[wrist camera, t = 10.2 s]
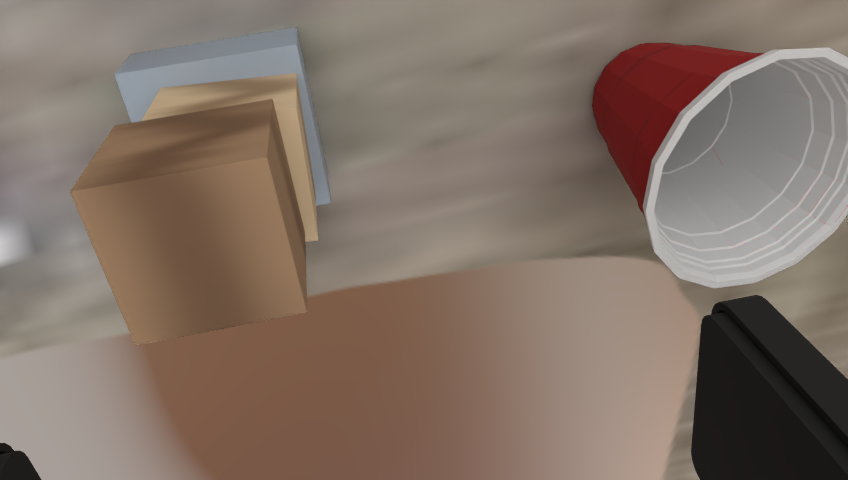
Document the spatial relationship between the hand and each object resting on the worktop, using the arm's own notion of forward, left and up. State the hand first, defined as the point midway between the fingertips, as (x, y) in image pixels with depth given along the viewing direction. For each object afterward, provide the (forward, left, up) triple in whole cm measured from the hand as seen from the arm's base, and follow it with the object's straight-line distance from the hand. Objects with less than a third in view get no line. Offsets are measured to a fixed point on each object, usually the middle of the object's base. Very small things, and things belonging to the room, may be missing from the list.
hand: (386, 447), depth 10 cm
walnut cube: (+5, +4, -19) cm, 20 cm away
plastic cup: (-17, +6, -28) cm, 33 cm away
